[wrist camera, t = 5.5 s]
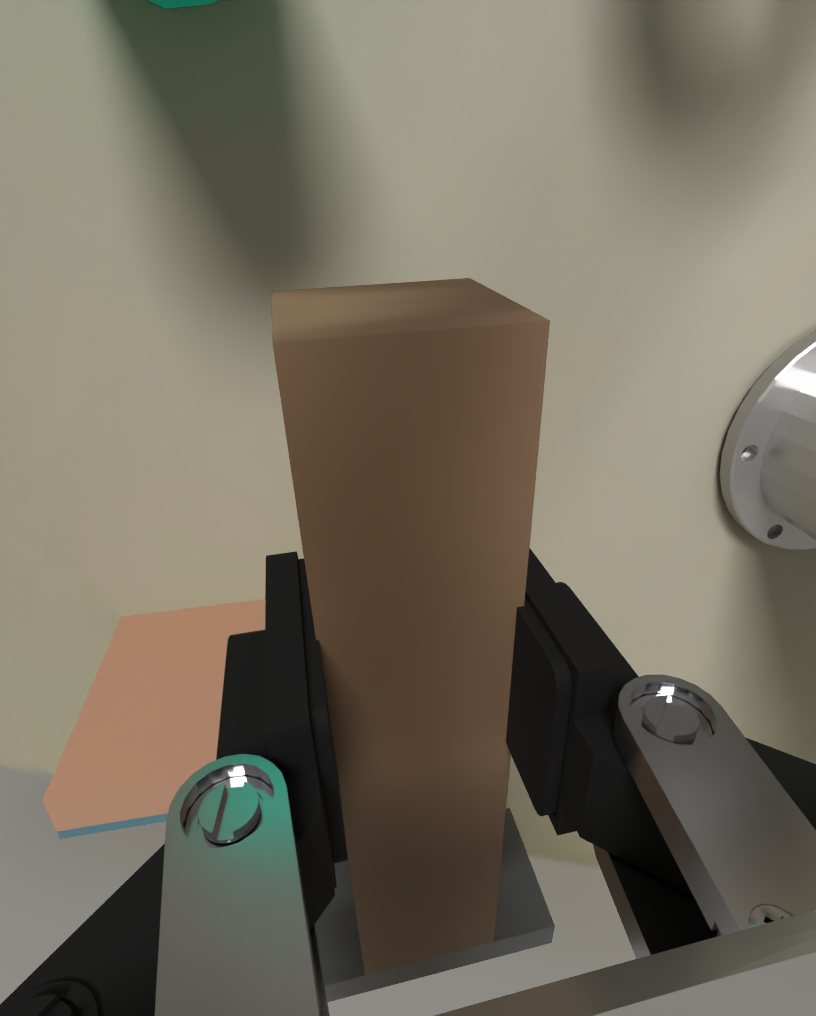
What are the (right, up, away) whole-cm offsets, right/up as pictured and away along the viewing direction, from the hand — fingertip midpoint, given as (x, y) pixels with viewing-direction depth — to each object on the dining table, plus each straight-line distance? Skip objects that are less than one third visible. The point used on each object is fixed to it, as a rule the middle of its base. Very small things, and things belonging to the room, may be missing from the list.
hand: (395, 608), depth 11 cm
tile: (-10, -4, +18) cm, 21 cm away
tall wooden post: (0, -1, +2) cm, 2 cm away
